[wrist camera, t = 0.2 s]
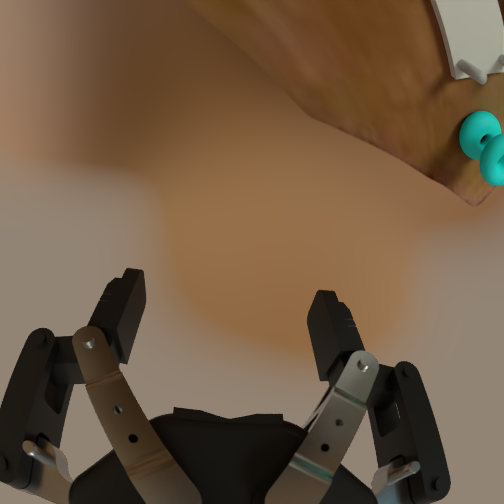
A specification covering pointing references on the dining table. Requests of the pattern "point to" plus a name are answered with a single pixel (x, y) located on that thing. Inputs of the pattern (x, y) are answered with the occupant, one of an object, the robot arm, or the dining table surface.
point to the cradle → (471, 37)
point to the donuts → (484, 145)
